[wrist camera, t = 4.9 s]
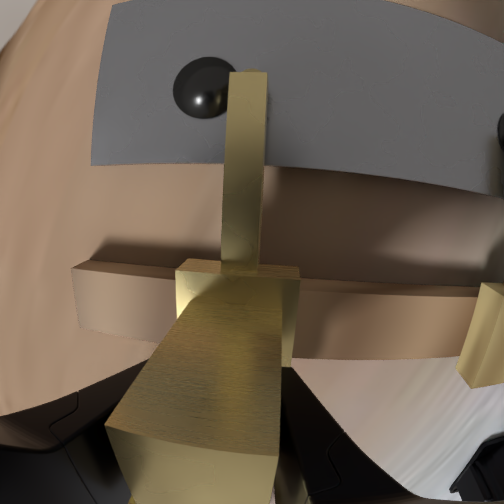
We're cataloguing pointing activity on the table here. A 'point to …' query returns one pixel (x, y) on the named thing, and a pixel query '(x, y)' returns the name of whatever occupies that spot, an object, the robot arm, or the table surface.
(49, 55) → the table surface
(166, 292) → the rail
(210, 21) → the hole plate
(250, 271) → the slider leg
